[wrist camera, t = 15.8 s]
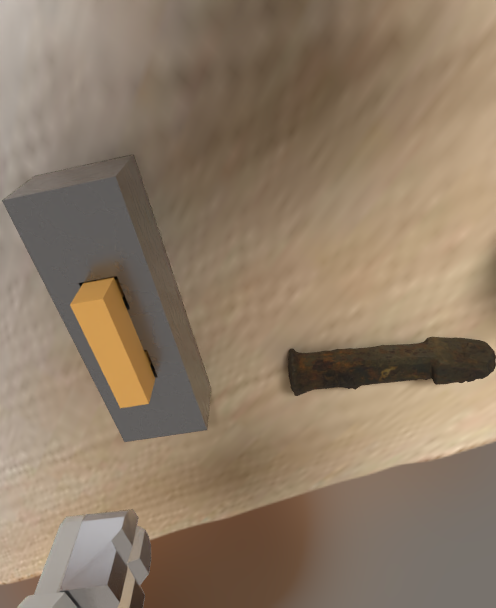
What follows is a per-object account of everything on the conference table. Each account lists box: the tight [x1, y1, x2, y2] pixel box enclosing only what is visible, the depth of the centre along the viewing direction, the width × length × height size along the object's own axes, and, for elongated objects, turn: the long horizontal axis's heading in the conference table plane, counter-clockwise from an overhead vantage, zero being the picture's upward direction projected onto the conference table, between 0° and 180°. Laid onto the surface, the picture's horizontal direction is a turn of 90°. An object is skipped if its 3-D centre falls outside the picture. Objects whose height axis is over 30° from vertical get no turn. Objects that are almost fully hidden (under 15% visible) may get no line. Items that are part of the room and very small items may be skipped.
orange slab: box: [70, 276, 155, 408], centre depth 38 cm, size 10×2×8 cm, turn 12°
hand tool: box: [288, 337, 496, 396], centre depth 43 cm, size 19×4×5 cm, turn 95°
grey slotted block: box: [2, 155, 211, 442], centre depth 39 cm, size 24×8×6 cm, turn 12°
